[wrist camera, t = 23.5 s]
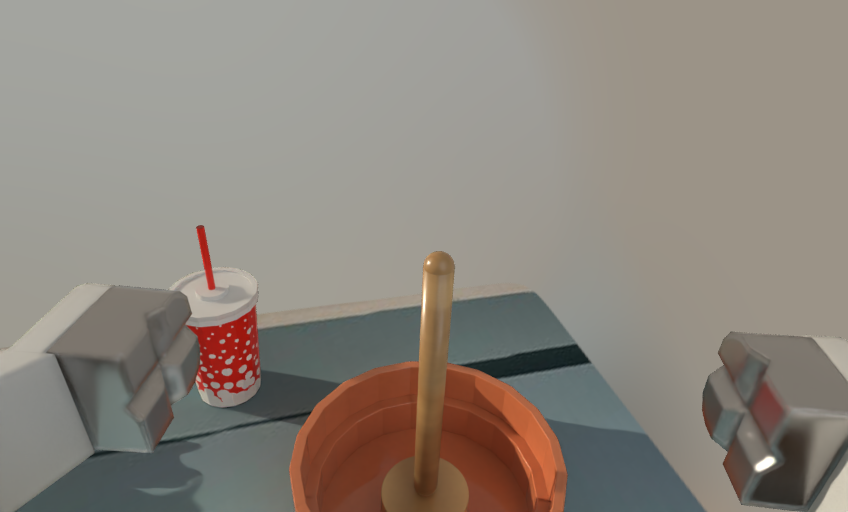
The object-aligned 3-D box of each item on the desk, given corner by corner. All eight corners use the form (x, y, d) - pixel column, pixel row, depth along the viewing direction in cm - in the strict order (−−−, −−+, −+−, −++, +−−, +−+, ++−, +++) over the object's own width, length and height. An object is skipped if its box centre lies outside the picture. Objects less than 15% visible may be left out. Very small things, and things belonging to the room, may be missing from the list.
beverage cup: (277, 402, 42) (255, 241, 35) (190, 424, 40) (148, 258, 33) (264, 351, 47) (242, 201, 40) (186, 369, 45) (148, 213, 38)
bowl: (526, 424, 41) (538, 363, 38) (576, 658, 28) (600, 594, 25) (319, 421, 41) (314, 358, 38) (274, 656, 28) (260, 591, 25)
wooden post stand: (463, 475, 36) (491, 226, 27) (470, 553, 32) (507, 288, 22) (383, 474, 36) (383, 223, 27) (378, 552, 32) (376, 285, 22)
